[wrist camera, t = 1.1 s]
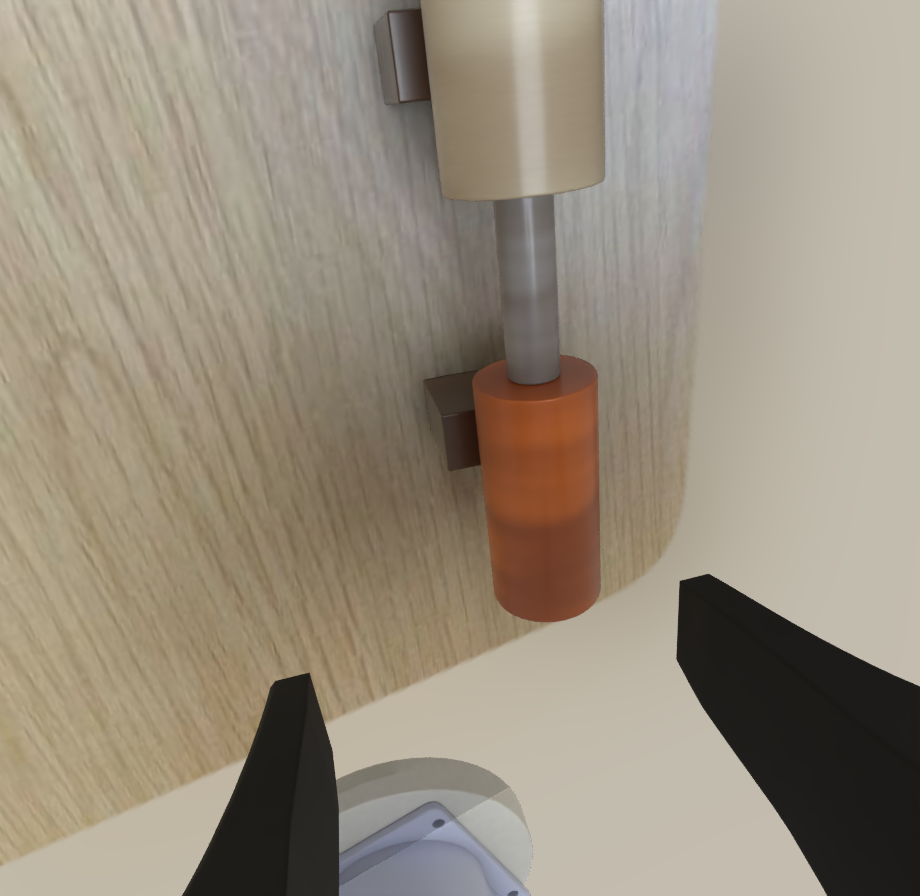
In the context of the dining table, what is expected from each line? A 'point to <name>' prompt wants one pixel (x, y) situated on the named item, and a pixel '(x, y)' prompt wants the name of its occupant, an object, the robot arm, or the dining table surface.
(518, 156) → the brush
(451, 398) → the small blocks
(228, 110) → the dining table surface
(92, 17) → the dining table surface
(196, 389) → the dining table surface
